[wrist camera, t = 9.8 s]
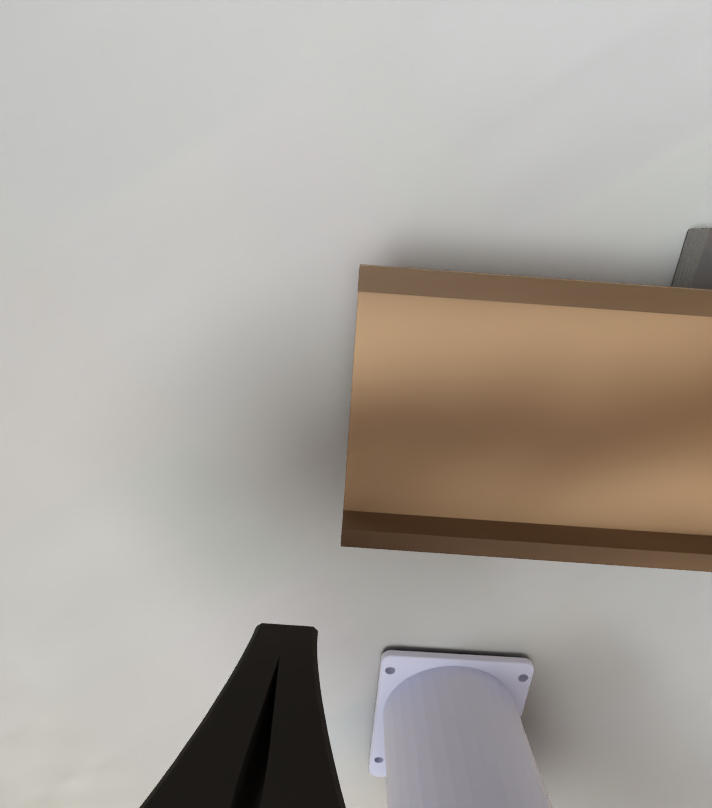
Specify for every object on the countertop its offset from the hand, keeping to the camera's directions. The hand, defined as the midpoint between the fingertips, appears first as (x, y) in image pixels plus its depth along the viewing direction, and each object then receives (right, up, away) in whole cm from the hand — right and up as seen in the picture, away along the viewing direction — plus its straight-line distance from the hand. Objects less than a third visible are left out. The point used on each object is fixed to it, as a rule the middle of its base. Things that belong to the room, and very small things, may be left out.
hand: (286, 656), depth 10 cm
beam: (+17, +5, +4) cm, 18 cm away
